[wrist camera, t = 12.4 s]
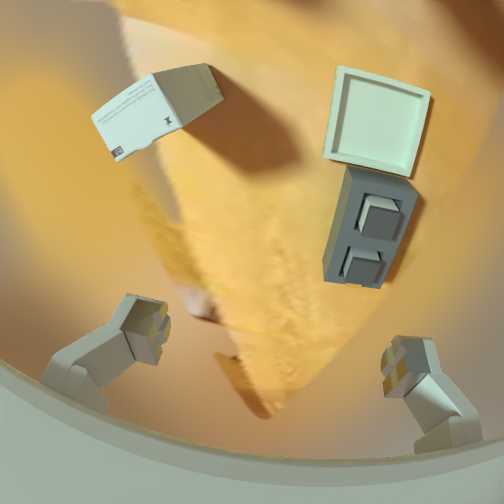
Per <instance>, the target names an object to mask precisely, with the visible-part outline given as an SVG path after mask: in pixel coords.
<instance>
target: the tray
mask: <svg viewBox="0 0 504 504" xmlns="http://www.w3.org/2000/svg"><path fill="white" fill-rule="evenodd" d="M430 95H431V92H429V91H426V90H424V89H421V88H418V87H415V86H412V85H409V84H406V83H403V82H400V81H397V80H394V79H391V78H387V77H384V76H380V75H377V74H373V73H369V72H365V71H361V70H357V69H353V68H349V67H344V66H339V65H337V67H336V74H335V81H334V88H333V94H332V100H331V107H330V113H329V119H328V125H327V131H326V136H325V142H324V148H323V153H322V154H323V158H327V159H332V160H337V161H343V162H347V163H352V164H357V165H362V166H366V167H371V168H375V169H379V170H384V171H388V172H392V173H396V174H400V175H404V176H407V177H410V174H411V171H412V167H413V164H414V160H415V157H416V153H417V150H418V146H419V142H420V138H421V134H422V130H423V126H424V122H425V118H426V113H427V109H428V104H429V99H430Z"/></svg>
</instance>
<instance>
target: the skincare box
mask: <svg viewBox="0 0 504 504" xmlns="http://www.w3.org/2000/svg"><path fill="white" fill-rule="evenodd" d="M223 100H224V98H223V96H222V94H221V92H220V89H219V87H218V85H217V83H216V81H215V79H214V77H213V75H212V73H211V71H210V69H209V67H208V65H207V64H206V63H202V64H196V65H190V66H185V67H180V68H175V69H170V70H166V71H161V72H156V73H151V74H149V75H147V76H146V77H144V78H142V79H141V80H139V81H138V82H136V83H135V84H133V85H132V86H130V87H129V88H127V89H125V90H124V91H123V92H121V93H120V94H118V95H117V96H116V97H114V98H113V99H112V100H110V101H109V102H108V103H106V104H105V105H104V106H103V107H101V108H100V109H99V110H98V111H96V112H95V113H94V114H93V115H92V116H91V119H92V120H93V122H94V124H95V126H96V128H97V129H98V131H99V133H100V135H101V136H102V138H103V140H104V141H105V143H106V145H107V147H108V148H109V150H110V152H111V153H112V155H113V156H114V158H115V160H116V162H120V161H121V160H123V159H125V158H126V157H128V156H129V155H131V154H133V153H134V152H136V151H138V150H140V149H143V148H146V147H148V146H149V145H150V144H151V143H152V142H154V141H156V140H158V139H159V138H161V137H163V136H165V135H167V134H169V133H171V132H174V131H176V130H179V129H181V128H183V127H184V126H186V125H187V124H189V123H190V122H192V121H193V120H194V119H196V118H197V117H199V116H200V115H202V114H203V113H205V112H206V111H208V110H210V109H211V108H213V107H214V106H216V105H217V104H219V103H220V102H222V101H223Z"/></svg>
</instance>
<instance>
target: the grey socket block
mask: <svg viewBox="0 0 504 504" xmlns="http://www.w3.org/2000/svg"><path fill="white" fill-rule="evenodd" d="M364 192H365V193H370V194H374V195H379V196H384V197H388V198H392V200H393V201H394V203H395V205H396V207H397V208H398V210H399V212H400V214H401V215H400V218H399V221H398V224H397V226H396V229H395V232H394V234H393V237H392V239H391V242H390V241H385V240H379V239H374V238H368V237H362V235H361V231H360V228H359V225H358V221H357V216H358V213H359V209H360V206H361V202H362V199H363V195H364ZM417 198H418V194H417V192H416V191H415V190H414V188H413V187H412V186H411V184H410V183H409V182H408V181H407V179H403V178H399V177H395V176H391V175H387V174H383V173H379V172H374V171H370V170H366V169H361V168H356V167H351V166H346V171H345V175H344V179H343V184H342V188H341V192H340V196H339V200H338V204H337V208H336V212H335V216H334V220H333V224H332V227H331V231H330V235H329V239H328V242H327V246H326V249H325V253H324V257H323V274H324V281H326V282H333V283H340V284H346V286H348V287H355V288H361V287H369V288H376V289H380V288H381V285H382V283H383V281H384V279H385V277H386V275H387V273H388V270H389V268H390V266H391V264H392V261H393V259H394V257H395V254H396V252H397V250H398V247H399V245H400V242H401V240H402V238H403V235H404V233H405V230H406V228H407V225H408V222H409V220H410V217H411V214H412V212H413V209H414V206H415V203H416V201H417ZM348 246H351V247H357V248H363V249H369V250H375V251H377V253H378V256H379V259H380V263H381V266H380V268H379V271H378V273H377V275H376V277H375V280H374V282H373V284H372V286H365V285H358V284H351V283H345V278H344V271H343V264H342V263H343V260H344V257H345V254H346V251H347V248H348Z"/></svg>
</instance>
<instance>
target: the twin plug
mask: <svg viewBox="0 0 504 504" xmlns="http://www.w3.org/2000/svg"><path fill="white" fill-rule="evenodd" d="M342 264H343V271H344V278H345V283H351V284H358V285H365V286H372V284H373V282H374V280H375V277H376V275H377V273H378V271H379V268H380V266H381V263H380V259H379V256H378V253H377V251H375V250H369V249H363V248H357V247H351V246H348V248H347V251H346V254H345V257H344V260H343V263H342Z"/></svg>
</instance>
